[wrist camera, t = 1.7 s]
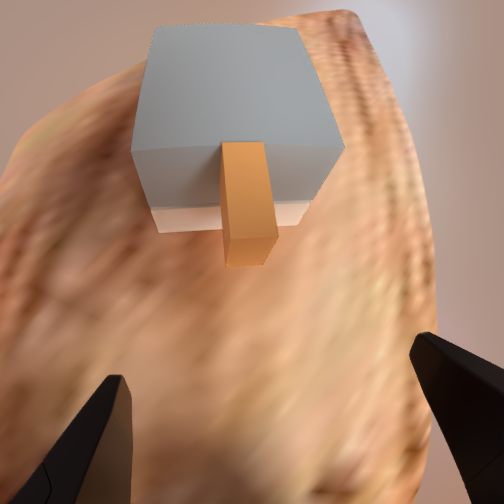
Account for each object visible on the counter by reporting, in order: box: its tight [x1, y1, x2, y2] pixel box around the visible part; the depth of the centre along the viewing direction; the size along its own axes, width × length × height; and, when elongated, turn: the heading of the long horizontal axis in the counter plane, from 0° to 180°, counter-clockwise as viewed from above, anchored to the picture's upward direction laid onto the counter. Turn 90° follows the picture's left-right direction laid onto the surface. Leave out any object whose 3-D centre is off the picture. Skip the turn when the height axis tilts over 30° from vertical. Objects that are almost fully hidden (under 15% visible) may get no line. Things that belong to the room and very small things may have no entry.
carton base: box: [151, 200, 311, 233], centre depth 24 cm, size 13×11×4 cm
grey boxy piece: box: [131, 24, 345, 267], centre depth 18 cm, size 18×11×6 cm, turn 6°
